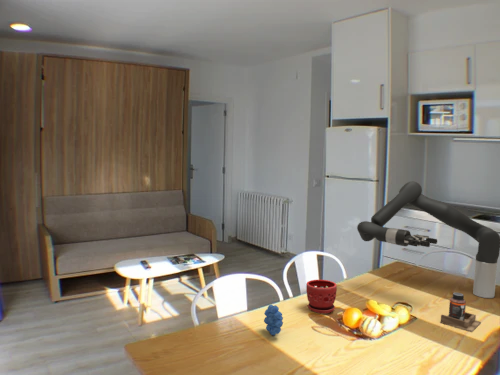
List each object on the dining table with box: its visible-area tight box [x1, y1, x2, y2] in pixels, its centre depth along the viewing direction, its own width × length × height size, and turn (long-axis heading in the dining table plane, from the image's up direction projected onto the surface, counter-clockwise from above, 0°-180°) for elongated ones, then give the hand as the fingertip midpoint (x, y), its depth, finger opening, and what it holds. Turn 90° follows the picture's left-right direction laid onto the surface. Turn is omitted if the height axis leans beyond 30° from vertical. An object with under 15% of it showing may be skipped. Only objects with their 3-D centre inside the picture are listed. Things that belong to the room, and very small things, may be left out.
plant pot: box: [305, 279, 338, 314], centre depth 181 cm, size 13×13×12 cm
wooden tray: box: [439, 311, 482, 333], centre depth 170 cm, size 12×12×3 cm
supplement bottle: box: [448, 292, 467, 321], centre depth 171 cm, size 6×6×11 cm
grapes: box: [263, 304, 284, 336], centre depth 156 cm, size 12×7×12 cm, turn 27°
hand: (433, 243), depth 182 cm, fingers open, 8 cm apart
